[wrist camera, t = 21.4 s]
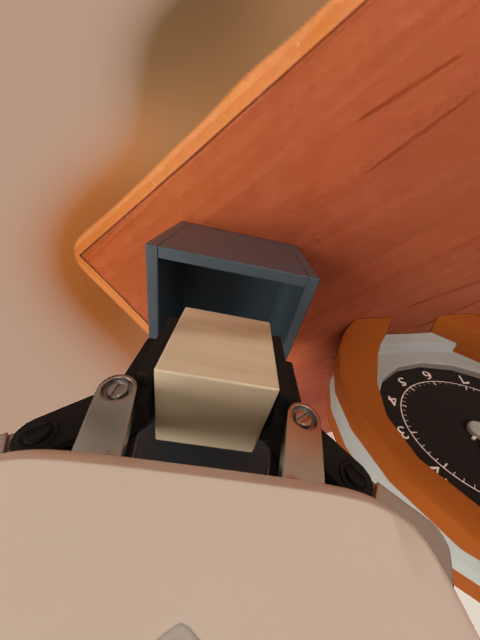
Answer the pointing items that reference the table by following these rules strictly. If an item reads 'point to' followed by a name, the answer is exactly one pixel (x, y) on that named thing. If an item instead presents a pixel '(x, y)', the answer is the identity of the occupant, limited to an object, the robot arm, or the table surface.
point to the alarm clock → (417, 423)
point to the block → (215, 381)
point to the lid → (201, 454)
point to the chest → (228, 278)
